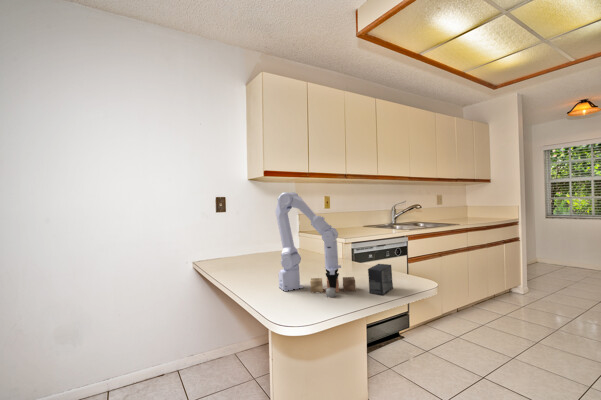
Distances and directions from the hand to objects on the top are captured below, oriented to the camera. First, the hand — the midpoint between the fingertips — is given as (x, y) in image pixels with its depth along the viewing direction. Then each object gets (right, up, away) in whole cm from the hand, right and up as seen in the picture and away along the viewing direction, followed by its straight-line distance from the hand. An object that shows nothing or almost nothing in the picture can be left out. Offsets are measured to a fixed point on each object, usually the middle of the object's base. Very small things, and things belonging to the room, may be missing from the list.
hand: (332, 287), depth 129 cm
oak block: (-7, -2, +1) cm, 7 cm away
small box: (+20, -1, -4) cm, 20 cm away
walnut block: (+7, -1, -1) cm, 7 cm away
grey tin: (-2, -2, -7) cm, 8 cm away
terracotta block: (0, -2, 0) cm, 2 cm away
